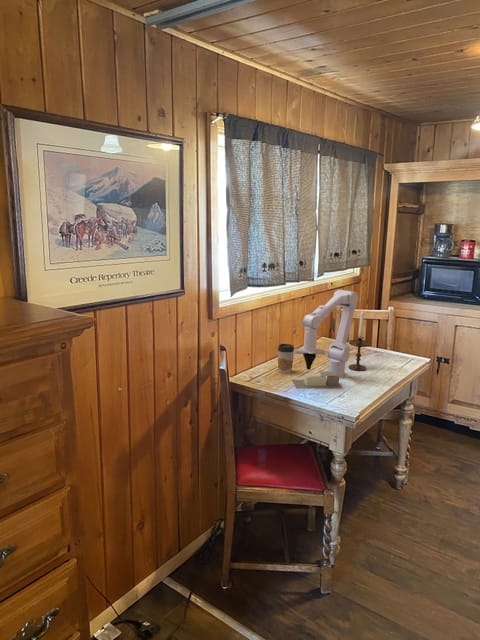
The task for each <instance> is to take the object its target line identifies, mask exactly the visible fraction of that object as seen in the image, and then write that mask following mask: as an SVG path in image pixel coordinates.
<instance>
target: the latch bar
mask: <svg viewBox="0 0 480 640" xmlns="http://www.w3.org/2000/svg"><path fill="white" fill-rule="evenodd" d="M319 374H320V375H321V376H325V377H327V376H336V372H335V371H328V370H327V371H322V370H321V371H320V372H319Z"/></svg>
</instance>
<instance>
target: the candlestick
mask: <svg viewBox="0 0 480 640" xmlns="http://www.w3.org/2000/svg"><path fill="white" fill-rule="evenodd" d="M359 316H360V317H359V326H358V336H356V338H357V339H350V340H349V341H348V344H349V345H350V346H354V347H356V348H357V353H356V354H355V356H356V358H355V360H356V363H354V364H349V365H348V369H349V370H351V371H354V372H355V371H356V372H365V371H367V366H365V365H362V364H360V361H361V357H362V354H361V348H367V347H371V342H370V341H367V340H365V339H364V338H365V337H364V336H363V330H364V318H365V312H364V305H363V304H361V311H360V313H359Z"/></svg>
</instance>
